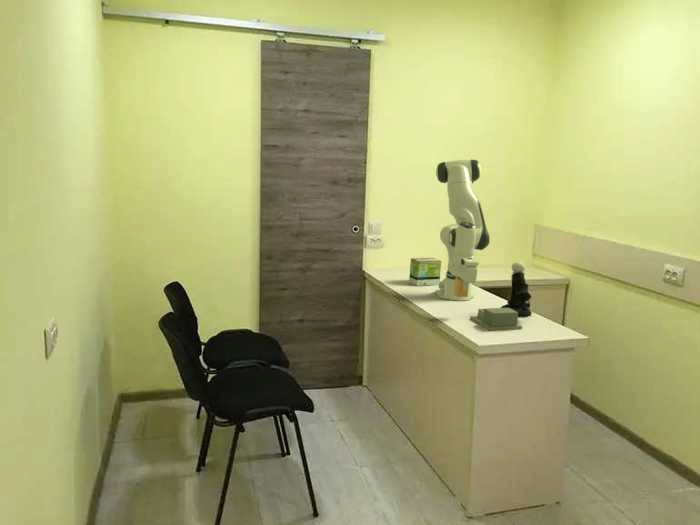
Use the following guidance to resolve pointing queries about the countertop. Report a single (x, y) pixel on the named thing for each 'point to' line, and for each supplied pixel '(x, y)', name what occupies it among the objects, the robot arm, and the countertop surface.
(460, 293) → the yellow box green face
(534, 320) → the countertop surface
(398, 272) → the countertop surface
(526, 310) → the sculpture
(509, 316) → the green plate with frame
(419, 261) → the tea box
